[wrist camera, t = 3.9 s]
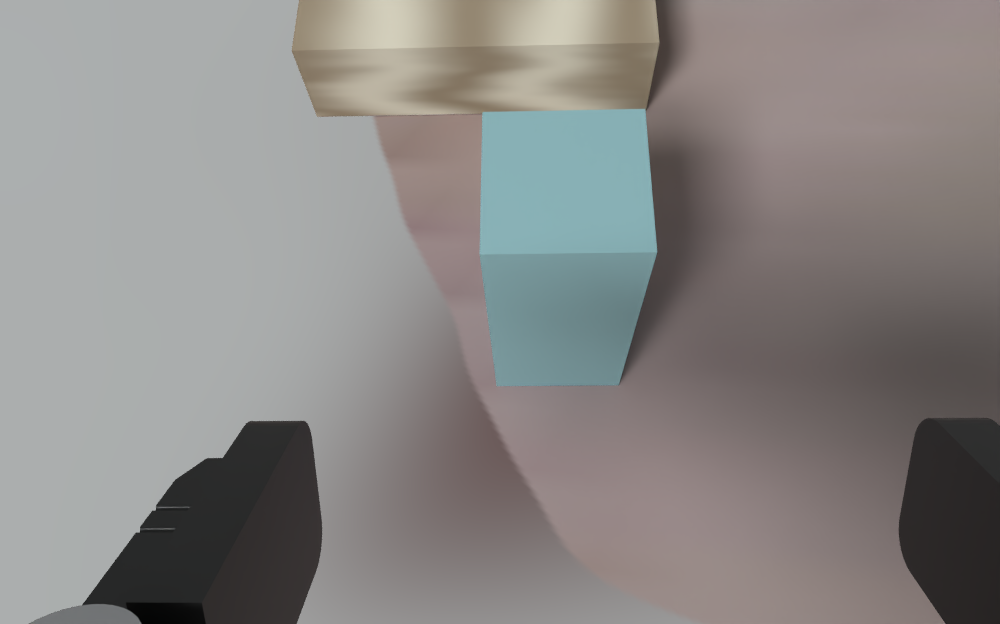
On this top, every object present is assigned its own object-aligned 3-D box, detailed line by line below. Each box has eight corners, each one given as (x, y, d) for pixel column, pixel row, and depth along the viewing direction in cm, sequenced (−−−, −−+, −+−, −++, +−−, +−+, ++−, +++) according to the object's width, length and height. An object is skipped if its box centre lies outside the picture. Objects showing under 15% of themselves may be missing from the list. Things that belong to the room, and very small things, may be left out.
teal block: (612, 276, 31) (645, 108, 22) (618, 385, 29) (657, 252, 20) (497, 277, 31) (482, 111, 22) (496, 386, 29) (479, 254, 20)
